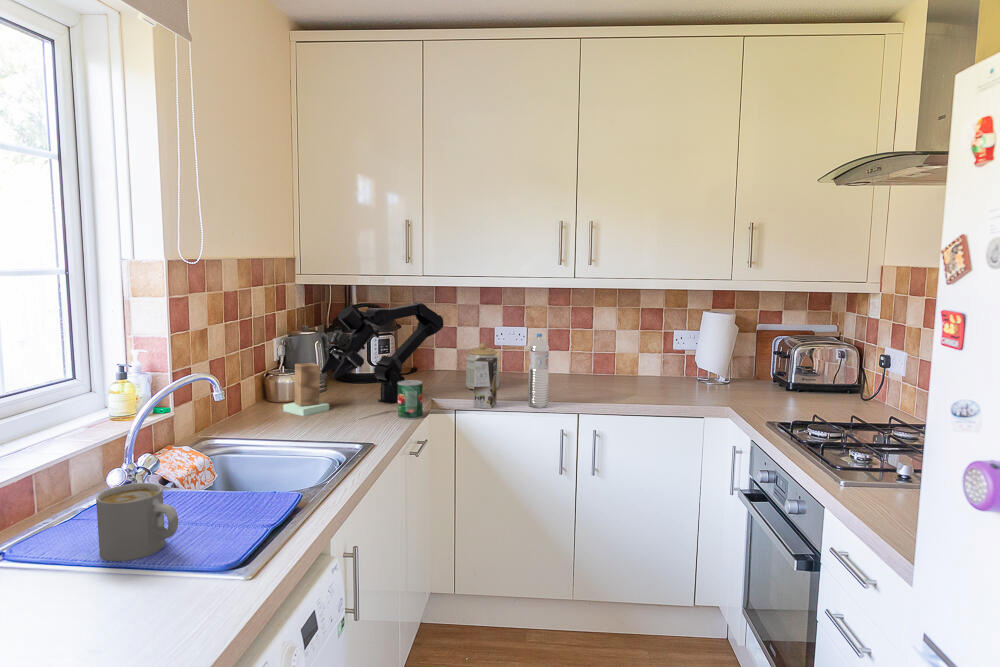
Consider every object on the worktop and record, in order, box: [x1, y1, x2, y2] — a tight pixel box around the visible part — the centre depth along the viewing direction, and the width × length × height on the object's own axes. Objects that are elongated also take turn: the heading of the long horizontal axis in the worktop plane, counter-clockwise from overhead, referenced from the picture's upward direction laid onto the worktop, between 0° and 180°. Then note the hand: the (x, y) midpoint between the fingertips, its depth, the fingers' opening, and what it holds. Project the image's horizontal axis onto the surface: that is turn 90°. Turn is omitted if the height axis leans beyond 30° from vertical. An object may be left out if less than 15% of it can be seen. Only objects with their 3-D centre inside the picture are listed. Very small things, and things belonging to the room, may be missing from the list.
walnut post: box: [293, 362, 321, 406], centre depth 209 cm, size 6×6×12 cm
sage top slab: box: [282, 401, 330, 417], centre depth 209 cm, size 10×10×2 cm
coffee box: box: [473, 357, 498, 409], centre depth 224 cm, size 9×6×16 cm
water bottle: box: [527, 333, 550, 409], centre depth 224 cm, size 7×7×25 cm
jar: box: [465, 342, 500, 388], centre depth 253 cm, size 13×13×18 cm
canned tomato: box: [397, 379, 424, 420], centre depth 208 cm, size 8×8×11 cm
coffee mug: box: [95, 482, 179, 562], centre depth 113 cm, size 13×10×10 cm
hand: (327, 375), depth 213 cm, fingers open, 9 cm apart
